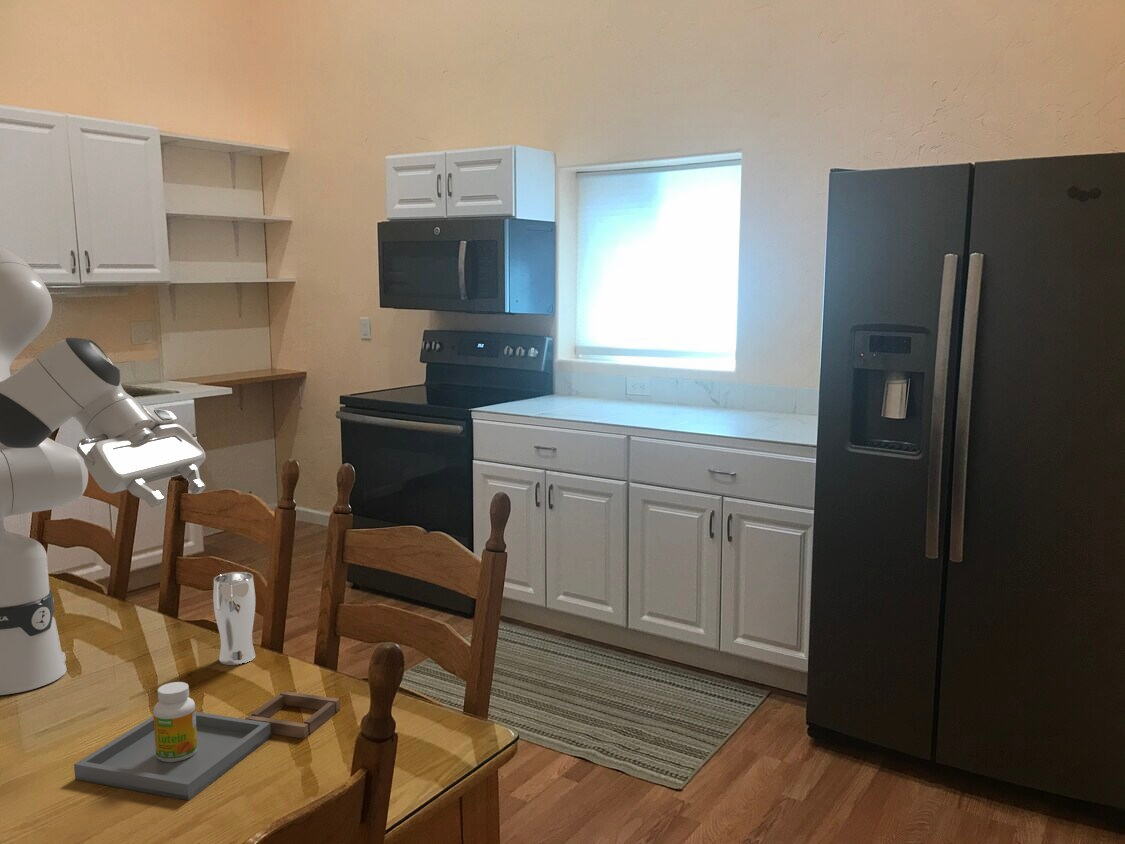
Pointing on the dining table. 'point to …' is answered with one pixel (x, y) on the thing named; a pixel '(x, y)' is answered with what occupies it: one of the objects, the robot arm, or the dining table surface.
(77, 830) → the dining table surface
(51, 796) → the dining table surface
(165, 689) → the supplement bottle
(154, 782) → the grey tray
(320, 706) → the frame
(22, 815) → the dining table surface
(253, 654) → the beer glass
